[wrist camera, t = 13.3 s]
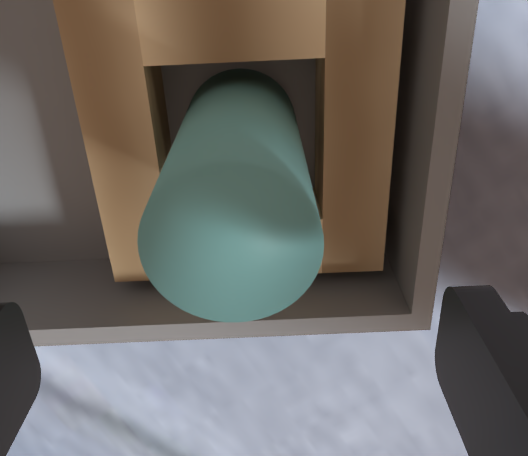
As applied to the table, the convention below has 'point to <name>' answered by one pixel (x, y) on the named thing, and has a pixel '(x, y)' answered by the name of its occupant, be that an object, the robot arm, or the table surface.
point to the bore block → (238, 50)
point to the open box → (177, 102)
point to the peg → (233, 205)
